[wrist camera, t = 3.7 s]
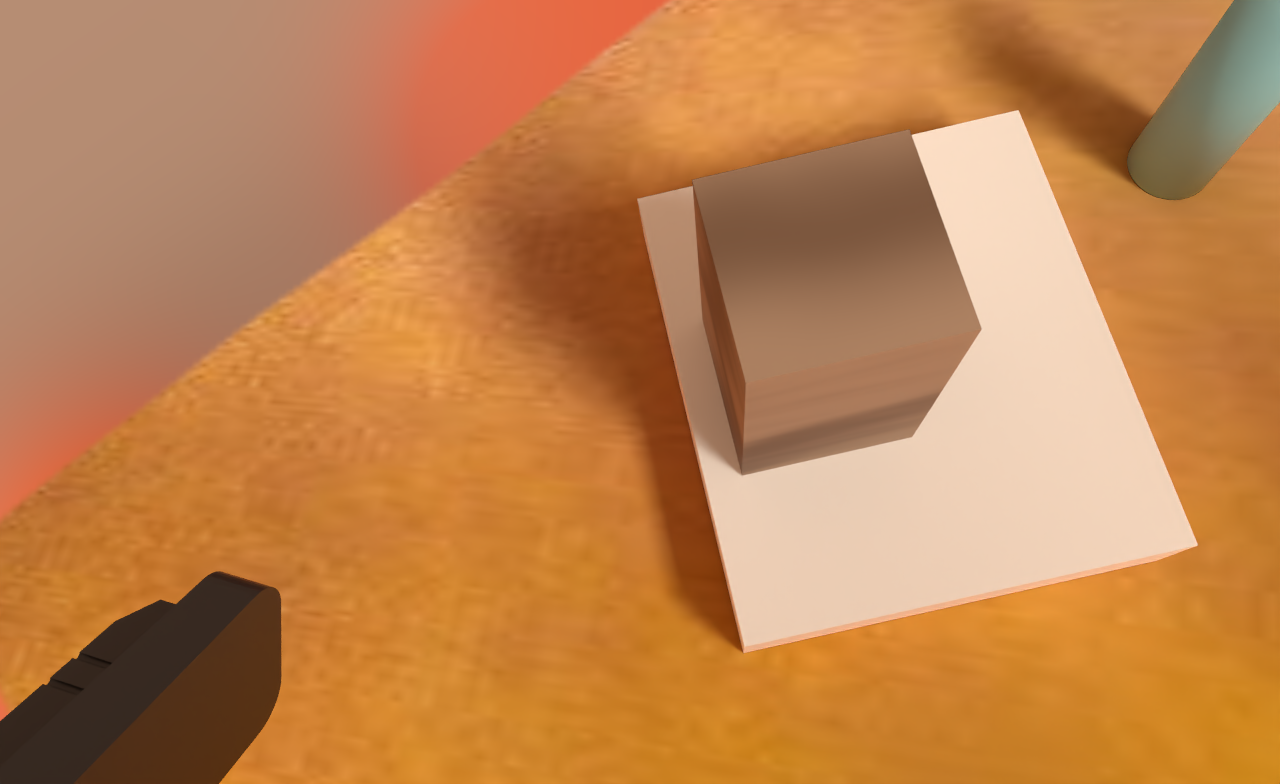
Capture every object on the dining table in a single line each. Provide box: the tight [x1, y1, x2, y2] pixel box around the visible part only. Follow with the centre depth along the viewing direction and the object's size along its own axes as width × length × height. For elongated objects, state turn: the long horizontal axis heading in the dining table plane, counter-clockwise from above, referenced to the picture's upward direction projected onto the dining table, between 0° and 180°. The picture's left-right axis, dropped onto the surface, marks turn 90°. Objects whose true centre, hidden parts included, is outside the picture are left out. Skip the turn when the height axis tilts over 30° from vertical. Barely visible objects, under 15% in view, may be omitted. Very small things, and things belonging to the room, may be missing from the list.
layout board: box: [637, 110, 1198, 653], centre depth 33 cm, size 16×14×3 cm
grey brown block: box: [692, 129, 982, 476], centre depth 27 cm, size 6×6×9 cm
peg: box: [1127, 0, 1280, 200], centre depth 32 cm, size 3×3×9 cm
